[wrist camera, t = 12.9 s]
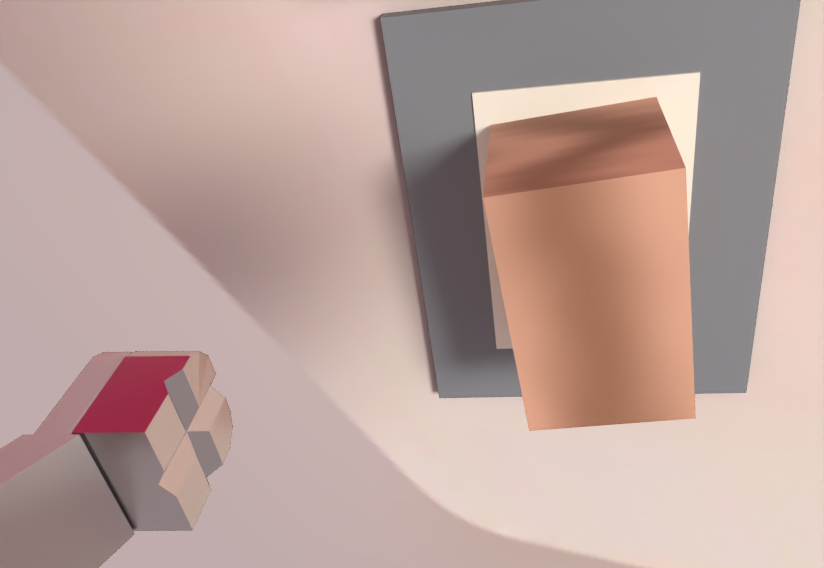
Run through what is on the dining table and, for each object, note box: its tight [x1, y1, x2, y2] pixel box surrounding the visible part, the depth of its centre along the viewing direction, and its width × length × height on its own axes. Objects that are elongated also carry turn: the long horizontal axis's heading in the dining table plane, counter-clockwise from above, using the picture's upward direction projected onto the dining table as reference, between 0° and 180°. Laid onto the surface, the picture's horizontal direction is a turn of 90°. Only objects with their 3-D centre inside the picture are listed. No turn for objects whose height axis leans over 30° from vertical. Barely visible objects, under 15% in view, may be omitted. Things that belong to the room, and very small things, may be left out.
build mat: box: [380, 0, 800, 398], centre depth 30 cm, size 14×18×1 cm
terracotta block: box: [483, 97, 696, 431], centre depth 28 cm, size 6×10×6 cm, turn 14°
